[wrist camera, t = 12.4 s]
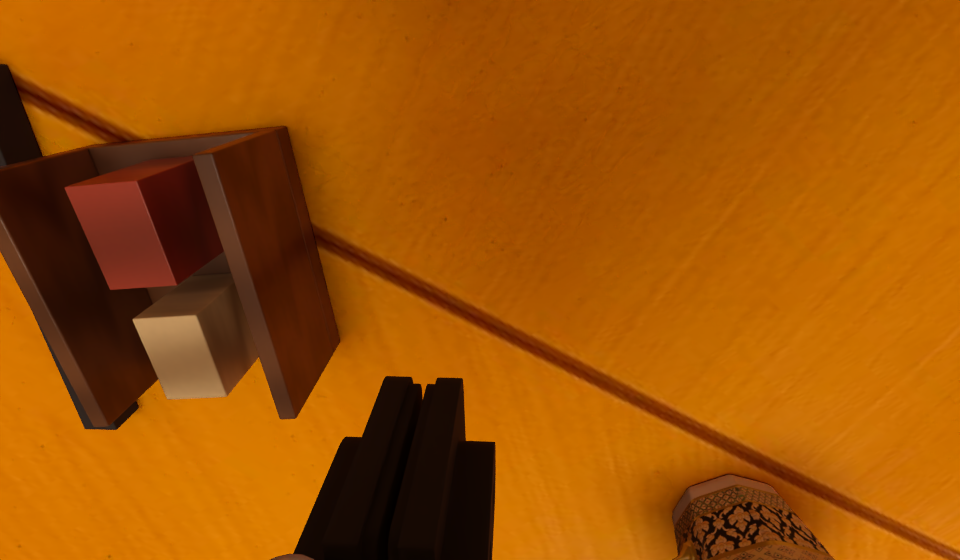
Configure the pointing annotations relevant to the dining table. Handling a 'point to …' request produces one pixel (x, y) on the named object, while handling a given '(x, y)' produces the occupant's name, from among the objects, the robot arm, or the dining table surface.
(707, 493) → the ceramic cup
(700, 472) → the dining table surface
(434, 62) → the dining table surface
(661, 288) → the dining table surface
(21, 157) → the edge rail
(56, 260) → the open wooden box
